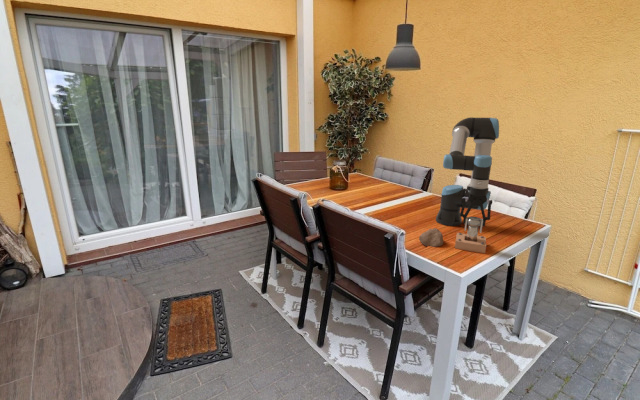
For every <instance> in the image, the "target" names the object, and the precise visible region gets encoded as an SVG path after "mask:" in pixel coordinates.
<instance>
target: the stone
mask: <svg viewBox="0 0 640 400" xmlns="http://www.w3.org/2000/svg"><path fill="white" fill-rule="evenodd" d="M418 240H419V242H420V243H421V244H422V245H424V247H428V246H430V247H435V248H436V247H441V246H442V245H443V244H444V237H443V232H441V231H440V229H438V228H429V229H428V230H426V231H424V232H422V233H421V234H420V235H419V238H418Z"/></svg>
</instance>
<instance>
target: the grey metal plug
mask: <svg viewBox="0 0 640 400" xmlns="http://www.w3.org/2000/svg"><path fill="white" fill-rule="evenodd" d="M467 217H468V220H467V233H466V234H467V239H466V240H467V241H473V242H476V241H477V236H479V235H478V233H479V229H480V226H481V220H482V219H483V218H480V217H478V216H467Z"/></svg>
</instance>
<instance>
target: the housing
mask: <svg viewBox="0 0 640 400" xmlns="http://www.w3.org/2000/svg"><path fill="white" fill-rule="evenodd" d="M455 236H456V238H455V241H454V242H455V245H454V249H457V250H463V251H469V252H475V253H481V254H485V253H486V250H487V249H486V248H487V237H486V236H483V235H477V241H476V242H473V241H467V240H466V239H467V233H462V232H456V235H455Z"/></svg>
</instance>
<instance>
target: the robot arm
mask: <svg viewBox="0 0 640 400" xmlns="http://www.w3.org/2000/svg"><path fill="white" fill-rule="evenodd" d="M451 136H452V139H451V144H450V149H449V153H448V154H444V156H443V161H442V165H443V166H442V167H443V168H444V169H447V170H448V169H449V170H457V171H458V170H459V171H470V172H471V176H470V183H469V184H468V185H467V187H466V188H464V186H463V185H462V184H461V185H459V184H450V185H449V184H448V185H446V186H444V187H442V191H441V197H440V198H441V199H440V205H439V210H438V212H437V215H436V216H435V222H437V223H438V224H440V225H443V226H449V227H457V226H461V225H462V224H464V232H465V231H467V228H468V224H467V220H468V217H469V216H468V215H469V214H470V212H471V210H476V211H477V210H479V211H481V215H482V216H481V217H482V218H481V219H482V220H481V226H479V233H480V234H482V232H483V227H486V222H487V221H490V220H491V212H492V211H491V209H492V205H493V200H492V199H490V198H491V194H492V193H491V191H490V190H489V181H490V175H491V169H492V163H493V157H492V156H491V152H492V147H493V144H494V143H495V142H496V140H497V139H499V136H500V121H499V119H498V118H496V117H473V116H472V117H471V116H470V117H467V118H464V119H463V118H462V120H459V121H458V122H457V123H456V124H455V125H454V126H453V128H452V132H451ZM468 138H473V142H474V143H475V147H474V154H473V155H465V151H466V146H467V140H468ZM465 209H466V211H465ZM486 209H487V216H486V214H485V210H486ZM464 211H465V213H464ZM462 218H463V219H462Z"/></svg>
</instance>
